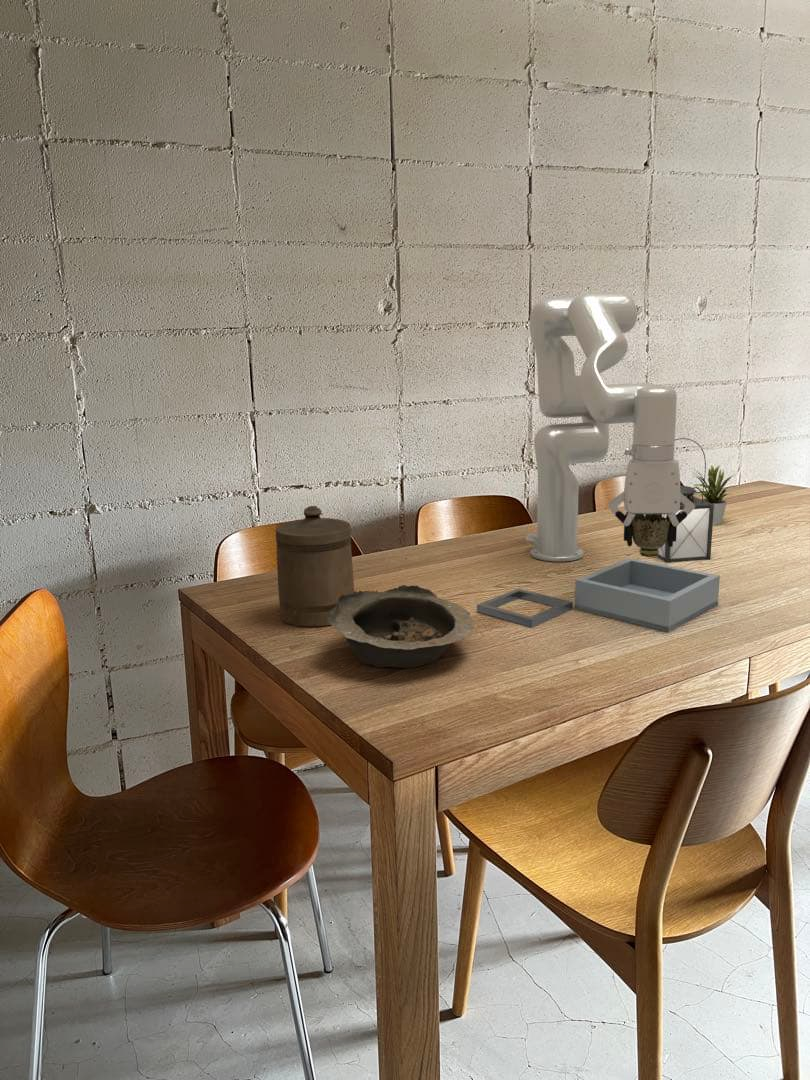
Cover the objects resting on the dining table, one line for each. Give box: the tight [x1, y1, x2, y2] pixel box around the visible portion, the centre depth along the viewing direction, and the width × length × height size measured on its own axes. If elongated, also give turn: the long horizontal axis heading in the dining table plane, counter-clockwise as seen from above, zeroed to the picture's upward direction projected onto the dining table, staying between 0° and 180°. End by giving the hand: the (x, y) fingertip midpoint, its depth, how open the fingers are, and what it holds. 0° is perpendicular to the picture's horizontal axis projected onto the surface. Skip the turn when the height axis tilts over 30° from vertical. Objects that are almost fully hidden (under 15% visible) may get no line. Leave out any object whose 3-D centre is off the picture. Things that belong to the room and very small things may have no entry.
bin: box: [574, 557, 721, 633], centre depth 166 cm, size 20×20×6 cm
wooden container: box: [275, 505, 355, 628], centre depth 165 cm, size 15×15×22 cm
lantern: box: [650, 437, 714, 564], centre depth 198 cm, size 11×11×28 cm
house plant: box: [689, 465, 737, 527], centre depth 230 cm, size 14×14×16 cm
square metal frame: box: [476, 588, 574, 628], centre depth 166 cm, size 13×13×2 cm
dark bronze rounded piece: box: [631, 514, 670, 558], centre depth 163 cm, size 8×7×8 cm
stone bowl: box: [327, 585, 475, 670], centre depth 146 cm, size 25×25×9 cm
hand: (649, 544), depth 163 cm, fingers closed on dark bronze rounded piece, 7 cm apart
